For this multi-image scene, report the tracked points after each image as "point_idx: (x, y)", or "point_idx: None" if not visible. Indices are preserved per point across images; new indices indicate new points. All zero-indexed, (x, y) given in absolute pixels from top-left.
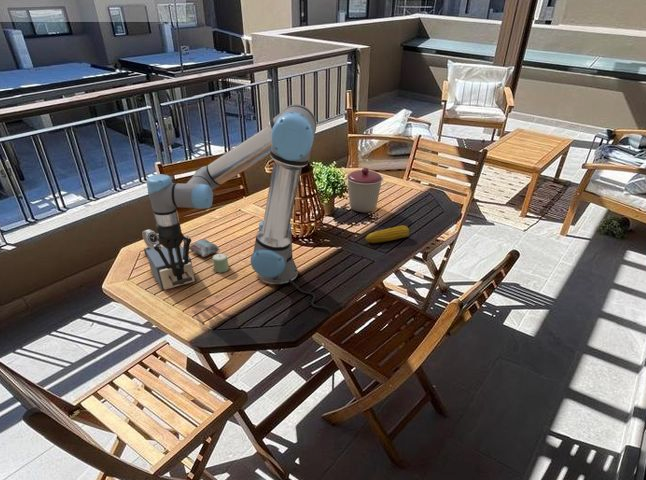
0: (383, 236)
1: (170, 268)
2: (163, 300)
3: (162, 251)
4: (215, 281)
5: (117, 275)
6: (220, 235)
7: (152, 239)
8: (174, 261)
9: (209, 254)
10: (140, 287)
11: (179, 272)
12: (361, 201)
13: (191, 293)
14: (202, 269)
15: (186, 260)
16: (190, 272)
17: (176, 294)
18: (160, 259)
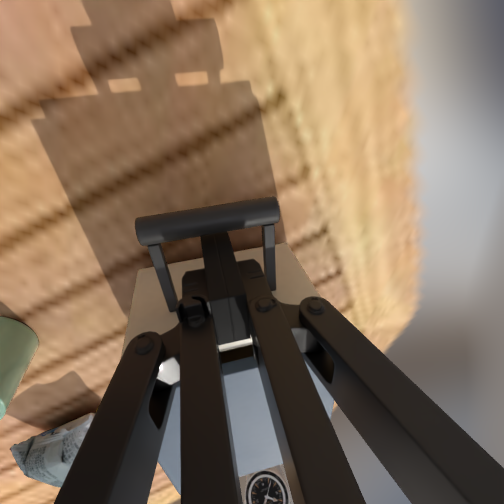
0: None
1: (293, 305)
2: (309, 170)
3: (265, 448)
4: (20, 249)
5: None
6: (36, 495)
7: (270, 490)
8: (268, 362)
9: (67, 423)
10: (349, 289)
11: (221, 273)
12: None
13: (166, 179)
14: (101, 349)
15: (134, 371)
16: (146, 306)
17: (242, 198)
18: None
